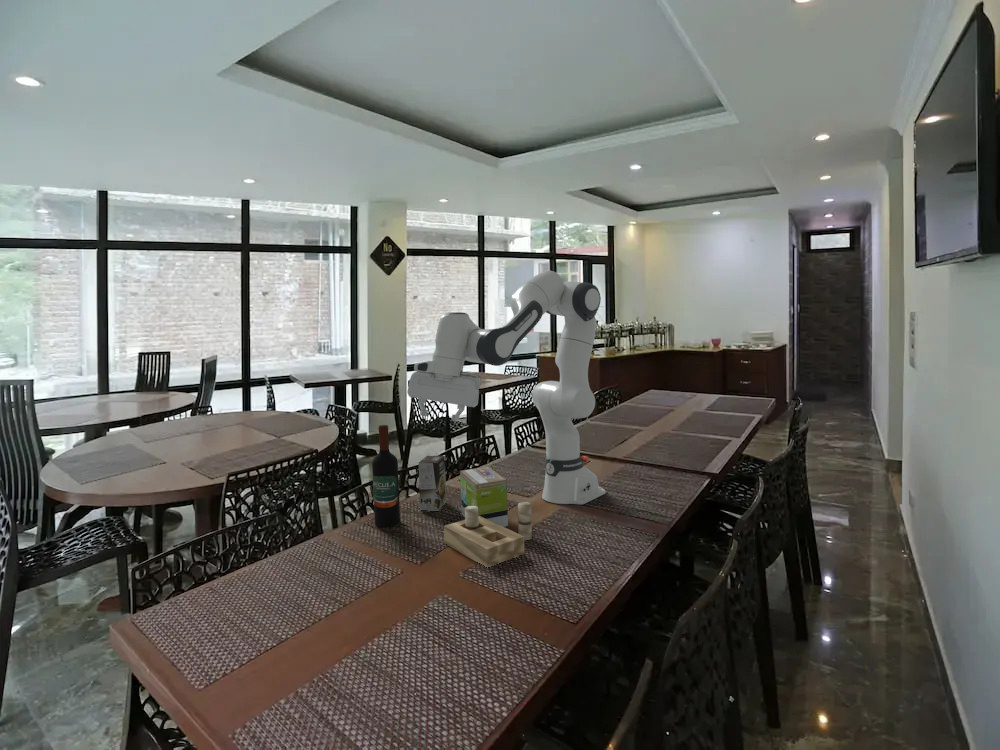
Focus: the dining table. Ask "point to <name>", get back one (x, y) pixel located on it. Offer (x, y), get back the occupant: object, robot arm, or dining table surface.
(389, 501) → the wine bottle
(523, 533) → the birch peg
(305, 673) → the dining table surface
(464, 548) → the wooden peg holder
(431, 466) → the coffee box
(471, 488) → the tea box
